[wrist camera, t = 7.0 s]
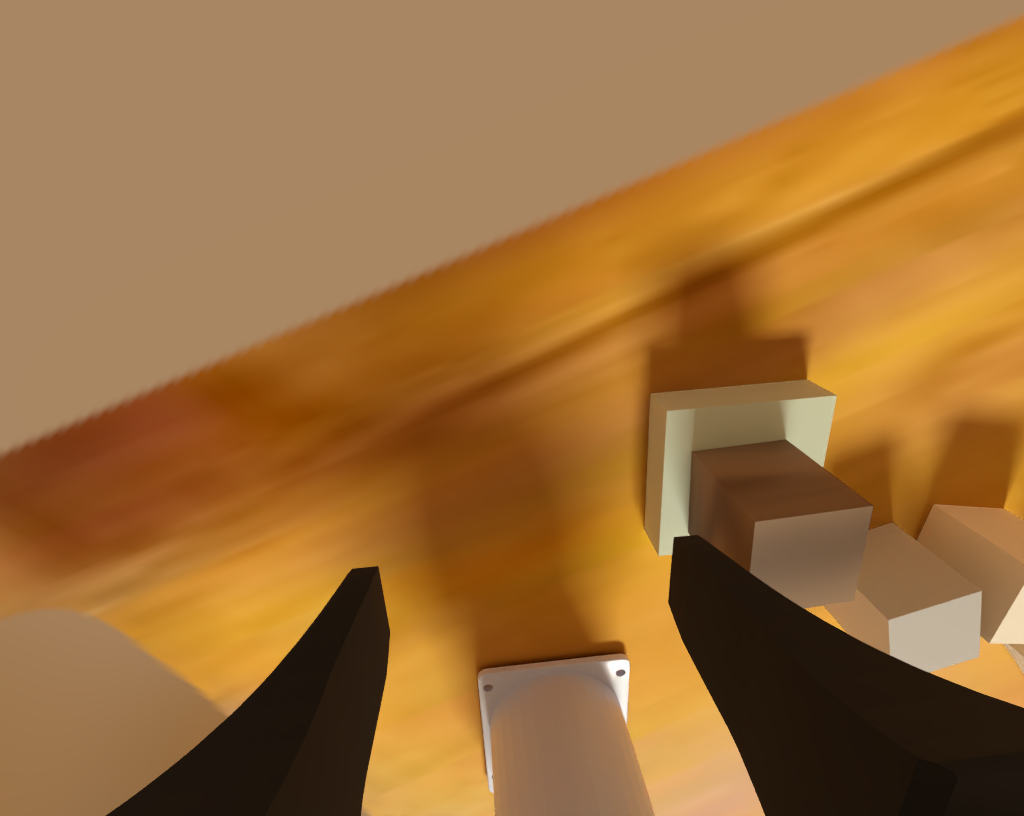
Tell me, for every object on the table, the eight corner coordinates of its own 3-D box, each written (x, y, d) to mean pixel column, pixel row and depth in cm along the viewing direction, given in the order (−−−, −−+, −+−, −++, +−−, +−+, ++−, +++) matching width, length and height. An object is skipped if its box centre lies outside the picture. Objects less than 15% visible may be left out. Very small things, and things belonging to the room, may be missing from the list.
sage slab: (779, 508, 26) (809, 539, 24) (641, 523, 26) (658, 555, 24) (800, 375, 24) (836, 395, 21) (646, 389, 23) (666, 411, 21)
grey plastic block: (894, 580, 28) (979, 656, 24) (821, 603, 28) (891, 683, 24) (892, 521, 27) (981, 590, 22) (815, 546, 27) (888, 620, 22)
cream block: (968, 571, 29) (1066, 644, 24) (902, 568, 28) (989, 643, 23) (1002, 507, 27) (1114, 573, 22) (933, 503, 27) (1033, 569, 22)
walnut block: (775, 520, 24) (853, 600, 19) (688, 532, 23) (745, 616, 19) (786, 439, 22) (873, 505, 17) (691, 451, 22) (755, 521, 17)
